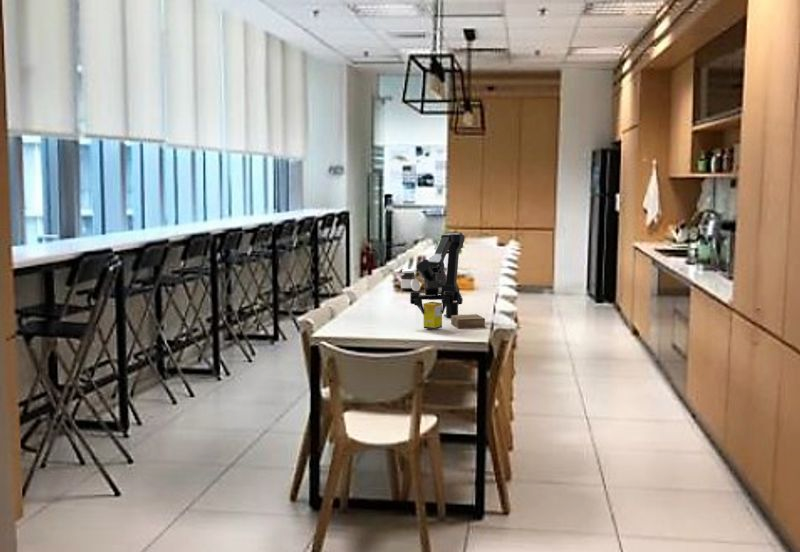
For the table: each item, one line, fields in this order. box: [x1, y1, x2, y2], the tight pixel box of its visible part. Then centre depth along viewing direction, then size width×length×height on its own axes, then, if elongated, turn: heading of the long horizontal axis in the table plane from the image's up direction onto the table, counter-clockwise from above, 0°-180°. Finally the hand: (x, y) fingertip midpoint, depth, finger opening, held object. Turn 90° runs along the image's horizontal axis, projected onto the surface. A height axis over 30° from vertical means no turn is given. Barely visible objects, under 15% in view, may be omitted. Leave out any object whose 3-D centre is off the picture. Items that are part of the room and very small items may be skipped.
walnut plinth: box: [450, 313, 486, 330], centre depth 406 cm, size 12×12×4 cm
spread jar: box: [400, 268, 421, 292], centre depth 523 cm, size 12×11×12 cm
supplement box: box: [422, 301, 443, 330], centre depth 398 cm, size 6×6×11 cm
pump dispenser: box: [435, 269, 447, 294], centre depth 514 cm, size 10×10×15 cm
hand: (432, 313), depth 396 cm, fingers closed on supplement box, 8 cm apart
